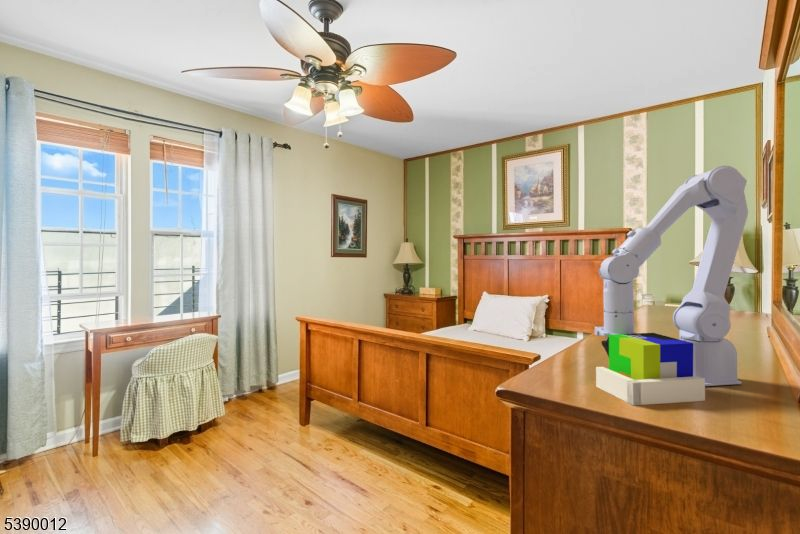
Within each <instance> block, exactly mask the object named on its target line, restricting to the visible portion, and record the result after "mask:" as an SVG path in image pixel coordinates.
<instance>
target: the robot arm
mask: <svg viewBox="0 0 800 534" xmlns="http://www.w3.org/2000/svg"><path fill="white" fill-rule="evenodd" d="M747 182H748V181H747V179H746V178H745V176H743V175H742V174H741V172H739V170H738V169H737V168H735V167H733V166H731V165H720V166H717V167H714V168H712V169H711V170H708V171H705V172H702V173H700V174H695V175H692V176H690V177H688V178H687V179H686V180H685V181H684V182H683V184H681V185H680V186H679V187H677V188H676V190H675V191H674V192H673V194H672V195H671V197H670V198H669V199H668V200H667V202H665V204H664V205H663V206H662V207H661V208H660V210H658V212H657V213H656V214H655V216H654V217H653V218H652V219H651V220H650V221H649V222H648V224H647V225H646V226H645V227H637V228H635V230H630V231H629V232H628V233H626V237H627V238H626V239H625V240H624V241H623V243H621V245H619V246H618V248H614V249H613V250H612V251H611V253H612V255H613V256H610V257H607V258H605V259H604V260H603V261H602V262H601V264H600V267H599V268H598V270H597V271H598V274H599V276H600V278H601V279H602V280H603V285H602V286H603V293H602V294H603V296H602V297H603V326H594V335H595V336H601V337H604V338H607V339H606V340H602V341H601V345H602V347H603V348H604V350H605V352H606V354H607V356H608V358H609V335H612V334H635V333H636V331H635V313H634V300H635V299H634V279H636V278H638V276H639V273H640V267H641V266H642V265H643V264H645V262H646V261H647V260H648V259H650V257H651V256H652V254H654V252H656V250H657V249H658V248H659V247H660V246H661V245H662V239H661V237H662V235H663V234H664V233H665V232H666V231H667V230H668V229H669V228H670V227H671V226H673V224H674V223H676V222H677V221H678V220H679V218H680V217H681V216H683V215H684V214H685V213H686V212H687V210H689V209H690V208H693V207H697V208H699V209H700V210H702V211H703V212H705V213H706V214H707V215H708V216H709V217H710V218H711V222H710V226H709V230H708V233H707V237H706V240H705V243H704V247H703V250H702V254H701V256H700V257H701V258H700V262H699V265H698V268H697V271H696V275H695V278H694V282H693V286H692V288H691V290H690V291H689V292H688V293H687V294H685V295H684V297H682V299H681V303H680V305H679V306H678V307H677V308H676V309H675V310H674V311H673V314H672V322H673V326H674V327H675V328H677V330H679V333H678V334H679V335H678V336H679V340H683V341H687V342H691V343H693V377H695V376H698V377H701V378H704V379H705V387H711V386H712V387H715V386H730V385H742V381H740V380H739V379H738V351H737V349H736V347H735V344H734V343H733V342H732V341H731V340H729V339H728V338H725V337H726V336H727V335H728V334H729V332H730V330H731V319H730V311H731V305H730V304H729V302H728V301H727V299H726V298H725V293H726V289H727V287H728V284H729V281H730V276H731V272H732V270H733V266H734V262H735V260H736V256H737V252H738V249H739V247H740V244H741V238H742V236H743V232H744V230H745V227H746V222H747V220H748V215H749V209H748V203H747V200H746V195H745V188H746V186H747ZM623 336H625V335H623ZM632 336H634V335H632ZM638 336H641V335H639V334H638V335H635V337H634V338H636V337H638ZM629 337H631V336H629ZM642 337H643V336H642ZM642 337H639V338H638V339H643V338H642ZM644 338H646V337H644Z"/></svg>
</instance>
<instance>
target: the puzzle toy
mask: <svg viewBox="0 0 800 534" xmlns="http://www.w3.org/2000/svg"><path fill="white" fill-rule="evenodd" d="M638 334H639V335H641V336H638V337H636V338H634V337H635V335H638ZM623 335H625V336H623ZM632 335H634V336H632ZM629 336H631V337H629ZM642 336H643V337H642ZM639 337H642V338H643V339H638V338H639ZM644 337H646V338H644ZM608 369H610V370H612V371H614V372H617V373H619V374H622V375H624V376H626V377H629V378H631V379H634V380H643V379H660V378H678V377H693V343H691V342H687V341H683V340H679V339H678V338H675V337H671V336H666V335H663V334H659V333H656V332H639V333H637V332H635V334H612V335H609V357H608Z"/></svg>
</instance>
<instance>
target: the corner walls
mask: <svg viewBox="0 0 800 534" xmlns="http://www.w3.org/2000/svg"><path fill="white" fill-rule="evenodd" d="M595 383H596V384H595V387H596V388H599V389H600V390H602V391H604V392H606V393H608V394H610V395H612V396H614V397H615V398H617V399H620V400H622V401H624V402H625V403H627V404H630V405H632V406H642V405H643V406H645V405H646V406H647V405H657V404H658V405H659V404H660V405H661V404H675V403H677V404H678V403H690V402H691V403H692V402H693V403H694V402H705V401H706V386H705V379H704V378H701V377H698V376H695V377H678V378H660V379H643V380H634V379H631V378H629V377H626V376H624V375H622V374H619V373H617V372H614V371H612V370H610V369H609V368H607V367H605V366H596V367H595Z"/></svg>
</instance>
